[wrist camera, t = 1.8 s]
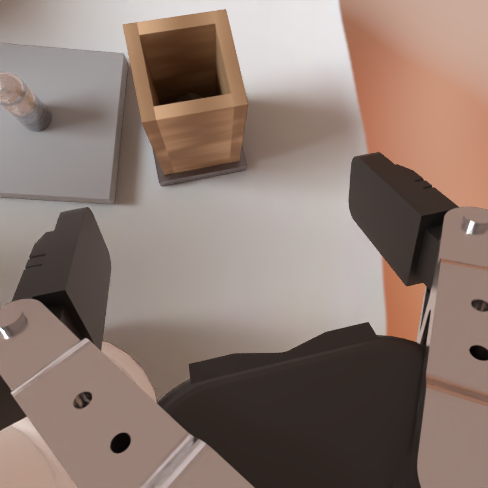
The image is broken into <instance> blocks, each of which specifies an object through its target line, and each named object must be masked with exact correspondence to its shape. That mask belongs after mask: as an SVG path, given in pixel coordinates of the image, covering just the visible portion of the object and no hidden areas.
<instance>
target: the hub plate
mask: <svg viewBox="0 0 488 488" xmlns="http://www.w3.org/2000/svg"><path fill="white" fill-rule="evenodd" d="M127 71H128V63H127V61H126V58H125V55H124V53H114V52H102V51H90V50H78V49H66V48H54V47H42V46H30V45H18V44H6V43H0V197H5V198H21V199H38V200H55V201H71V202H88V203H105V204H115V194H116V184H117V173H118V163H119V153H120V143H121V132H122V122H123V112H124V102H125V91H126V81H127Z"/></svg>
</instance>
